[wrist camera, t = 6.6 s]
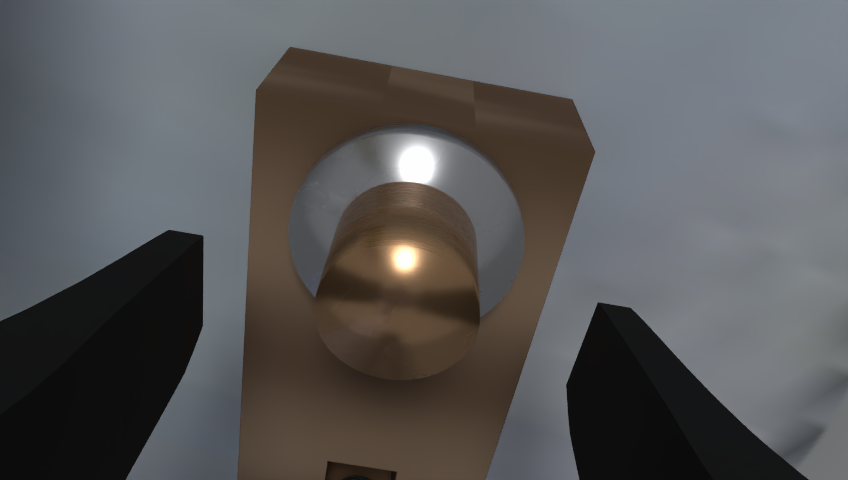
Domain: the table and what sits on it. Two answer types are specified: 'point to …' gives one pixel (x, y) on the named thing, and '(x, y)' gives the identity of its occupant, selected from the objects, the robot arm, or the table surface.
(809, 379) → the table surface
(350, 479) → the chrome threaded knob
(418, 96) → the stand
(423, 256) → the copper plunger
